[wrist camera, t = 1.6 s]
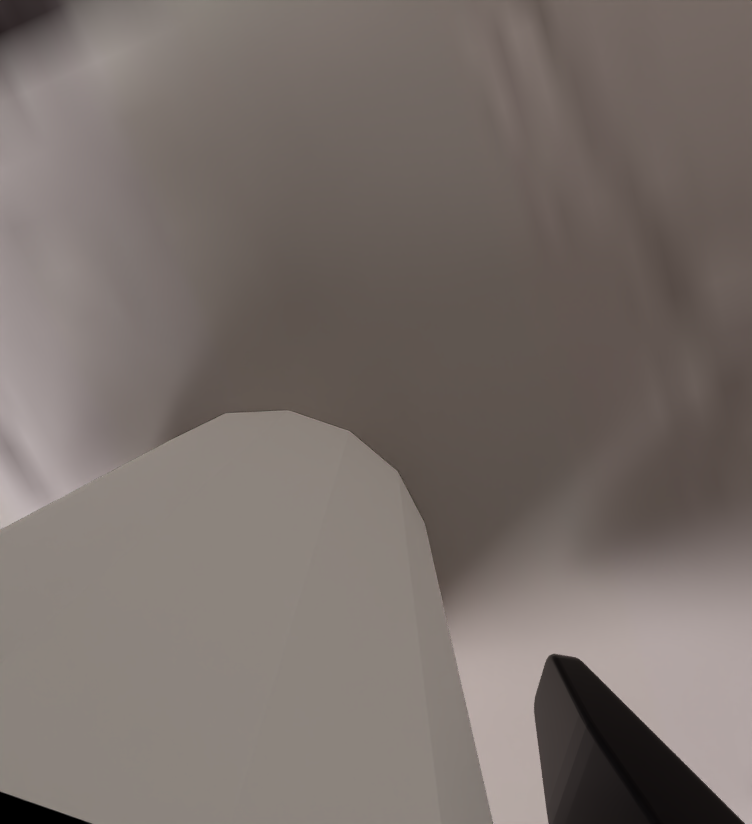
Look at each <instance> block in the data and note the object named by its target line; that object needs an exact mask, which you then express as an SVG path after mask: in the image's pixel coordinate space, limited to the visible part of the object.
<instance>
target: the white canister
mask: <svg viewBox="0 0 752 824" xmlns="http://www.w3.org/2000/svg"><path fill="white" fill-rule="evenodd" d="M0 824H493V821H492V816H491V812H490V808H489V803H488V799H487V794H486V790H485V786H484V781H483V777H482V773H481V768H480V764H479V759H478V755H477V751H476V746H475V742H474V737H473V733H472V729H471V724H470V720H469V715H468V711H467V707H466V702H465V698H464V694H463V689H462V685H461V680H460V676H459V672H458V667H457V663H456V658H455V654H454V650H453V645H452V641H451V636H450V632H449V628H448V623H447V619H446V615H445V610H444V606H443V601H442V597H441V593H440V588H439V584H438V579H437V575H436V571H435V566H434V562H433V557H432V553H431V549H430V544H429V540H428V536H427V531H426V527H425V523H424V521H423V519H422V517H421V515H420V513H419V511H418V509H417V507H416V506H415V504H414V502H413V500H412V498H411V496H410V494H409V492H408V490H407V488H406V486H405V484H404V482H403V480H402V479H401V477H400V475H399V473H398V471H397V470H395V469H394V468H393V467H392V466H391V465H389V464H388V463H387V462H386V461H385V460H384V459H382V458H381V457H380V456H379V455H378V454H376V453H375V452H374V451H373V450H372V449H370V448H369V447H368V446H367V445H366V444H364V443H363V442H362V441H361V440H360V439H359V438H357V437H356V436H355V435H354V434H353V433H351V432H350V431H348V430H345V429H342V428H339V427H336V426H333V425H330V424H327V423H325V422H322V421H319V420H316V419H313V418H310V417H307V416H304V415H301V414H298V413H295V412H292V411H289V410H281V411H260V412H239V413H225V414H223V415H221V416H219V417H216V418H214V419H212V420H210V421H208V422H206V423H204V424H202V425H200V426H198V427H196V428H194V429H192V430H190V431H188V432H186V433H184V434H182V435H180V436H177V437H175V438H173V439H171V440H170V441H168V442H166V443H164V444H162V445H160V446H158V447H156V448H154V449H153V450H151V451H149V452H147V453H145V454H143V455H141V456H139V457H137V458H135V459H134V460H132V461H130V462H128V463H126V464H124V465H122V466H120V467H118V468H117V469H115V470H113V471H111V472H109V473H107V474H105V475H103V476H101V477H100V478H98V479H96V480H94V481H92V482H90V483H88V484H86V485H84V486H82V487H81V488H79V489H77V490H75V491H73V492H71V493H69V494H67V495H65V496H64V497H62V498H60V499H58V500H56V501H54V502H52V503H50V504H48V505H46V506H45V507H43V508H41V509H39V510H37V511H35V512H33V513H31V514H29V515H28V516H26V517H24V518H22V519H20V520H18V521H16V522H14V523H12V524H11V525H9V526H7V527H5V528H3V529H1V530H0Z"/></svg>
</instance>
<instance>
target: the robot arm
mask: <svg viewBox="0 0 752 824" xmlns="http://www.w3.org/2000/svg"><path fill="white" fill-rule="evenodd" d="M534 714H535V723H536V731H537V738H538V746H539V754H540V762H541V770H542V778H543V786H544V793H545V801H546V809H547V816H548V823H549V824H745V823H744V822H743V821H742V820H741V819H740V818H739V817H738V816H737V815H736V814H735V813H734V812H733V811H732V810H731V809H730V808H729V807H728V806H727V805H726V804H725V803H724V802H723V801H722V800H721V799H720V798H719V797H718V796H717V795H716V794H715V793H714V792H713V791H712V790H711V789H710V788H709V787H708V786H707V785H706V784H705V783H704V782H703V781H702V780H701V779H700V778H699V777H698V776H697V775H696V774H695V773H694V772H693V771H692V770H691V769H690V768H689V767H688V766H687V765H686V764H685V763H684V762H683V761H682V760H681V759H680V758H679V757H678V756H677V755H676V754H675V753H674V752H673V751H672V750H671V749H670V748H668V747H667V746H666V745H665V744H664V743H663V742H662V741H661V740H660V739H659V738H658V737H657V736H656V735H655V734H654V733H653V732H652V731H651V730H650V729H649V728H648V727H647V726H646V725H645V724H644V723H643V722H642V721H641V720H640V719H639V718H638V717H637V716H636V715H635V714H634V713H633V712H632V711H631V710H630V709H629V708H628V707H627V706H626V705H625V704H624V703H623V702H622V701H621V700H620V699H619V698H618V697H617V696H616V695H615V694H614V693H613V692H612V691H611V690H610V689H609V688H608V687H607V686H606V685H605V684H604V683H603V682H602V681H601V680H600V679H599V678H598V677H597V676H596V675H595V674H594V673H593V672H592V671H591V670H590V669H589V668H588V667H587V666H586V665H585V664H584V663H583V662H582V661H581V660H580V659H578V658H575V657H571V656H565V655H558V654H552V655H550V656H549V657H548V658H547V660H546V662H545V666H544V669H543V672H542V676H541V679H540V682H539V686H538V689H537V692H536V696H535V702H534Z"/></svg>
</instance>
